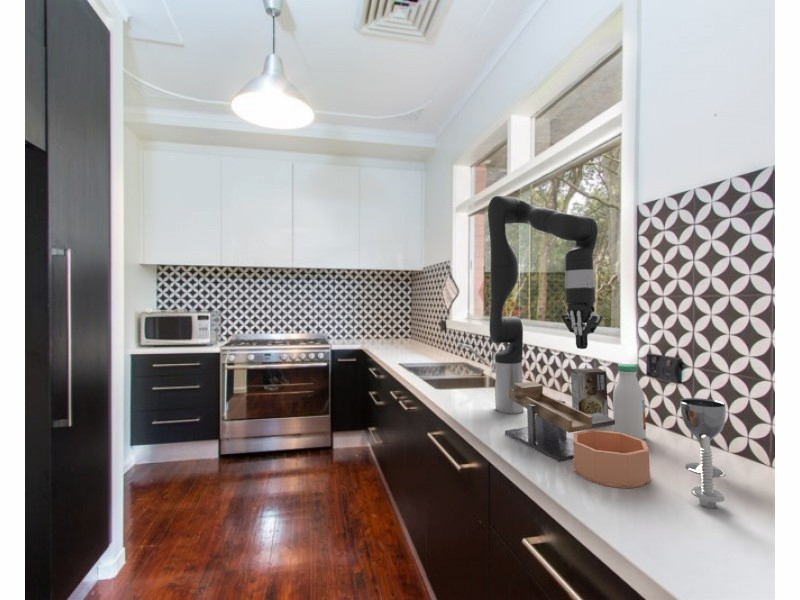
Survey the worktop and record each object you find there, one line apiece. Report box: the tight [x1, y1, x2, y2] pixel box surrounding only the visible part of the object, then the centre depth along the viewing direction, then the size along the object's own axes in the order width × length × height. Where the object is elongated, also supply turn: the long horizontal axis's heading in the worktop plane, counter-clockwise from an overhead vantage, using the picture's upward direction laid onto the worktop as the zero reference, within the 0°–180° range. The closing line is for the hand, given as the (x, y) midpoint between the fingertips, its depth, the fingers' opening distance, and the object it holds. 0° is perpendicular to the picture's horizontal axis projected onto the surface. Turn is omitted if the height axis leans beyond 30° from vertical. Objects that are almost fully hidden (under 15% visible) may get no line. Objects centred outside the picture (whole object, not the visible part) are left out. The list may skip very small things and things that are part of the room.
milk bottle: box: [612, 363, 647, 441], centre depth 108 cm, size 8×8×20 cm
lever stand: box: [504, 399, 574, 463], centre depth 105 cm, size 22×12×11 cm, turn 20°
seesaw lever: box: [509, 381, 615, 433], centre depth 106 cm, size 24×15×5 cm, turn 20°
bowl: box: [572, 429, 651, 489], centre depth 86 cm, size 14×14×7 cm
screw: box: [690, 435, 726, 509], centre depth 72 cm, size 13×5×5 cm
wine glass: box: [679, 397, 727, 478], centre depth 86 cm, size 8×8×15 cm
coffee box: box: [570, 367, 609, 417], centre depth 124 cm, size 9×6×16 cm
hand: (581, 348), depth 108 cm, fingers closed
